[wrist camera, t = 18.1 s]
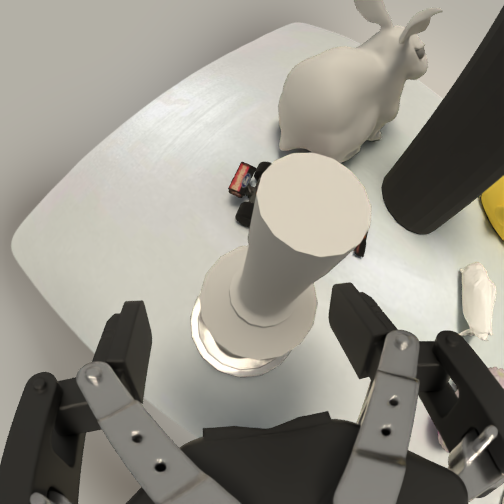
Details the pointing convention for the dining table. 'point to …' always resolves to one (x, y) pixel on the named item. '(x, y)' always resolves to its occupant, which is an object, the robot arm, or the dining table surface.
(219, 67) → the dining table surface
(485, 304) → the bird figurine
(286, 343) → the bottle
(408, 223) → the vase
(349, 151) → the rabbit
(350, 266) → the dining table surface
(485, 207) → the teapot
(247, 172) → the toy car
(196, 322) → the stand
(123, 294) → the dining table surface
